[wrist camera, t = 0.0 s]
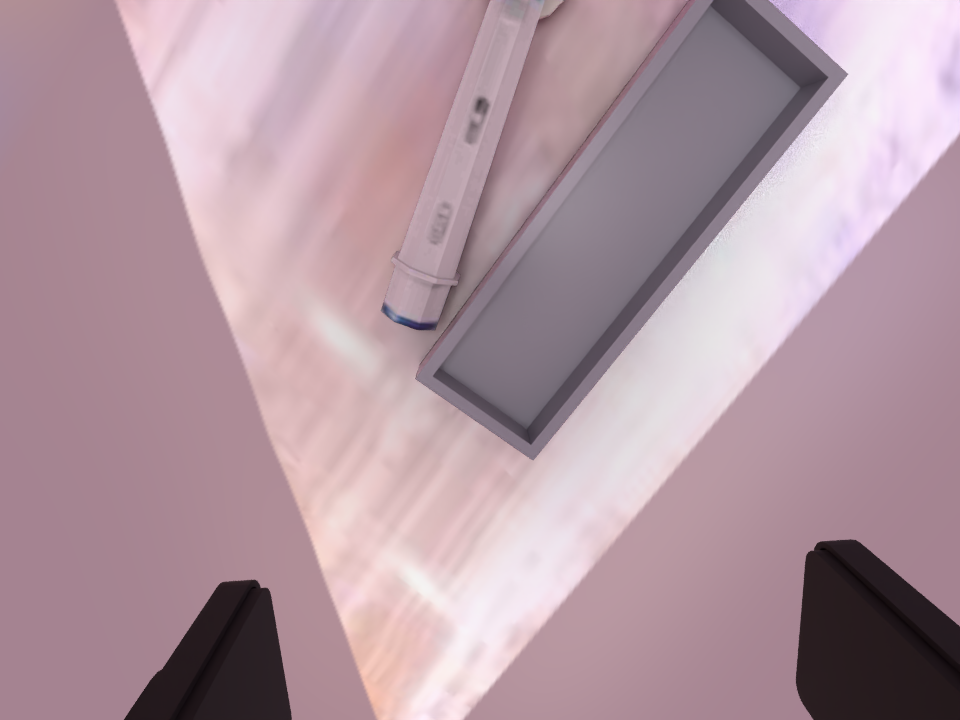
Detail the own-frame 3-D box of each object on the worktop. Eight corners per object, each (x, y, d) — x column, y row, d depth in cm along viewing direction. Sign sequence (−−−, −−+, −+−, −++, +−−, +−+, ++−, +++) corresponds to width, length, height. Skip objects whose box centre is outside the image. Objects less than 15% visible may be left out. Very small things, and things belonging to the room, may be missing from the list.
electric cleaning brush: (364, 313, 36) (512, -164, 28) (384, 286, 43) (510, -110, 34) (444, 341, 37) (614, -118, 28) (452, 311, 43) (593, -73, 34)
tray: (700, -16, 36) (725, -40, 32) (813, 86, 37) (848, 74, 34) (419, 365, 41) (415, 378, 38) (527, 440, 43) (533, 460, 39)
